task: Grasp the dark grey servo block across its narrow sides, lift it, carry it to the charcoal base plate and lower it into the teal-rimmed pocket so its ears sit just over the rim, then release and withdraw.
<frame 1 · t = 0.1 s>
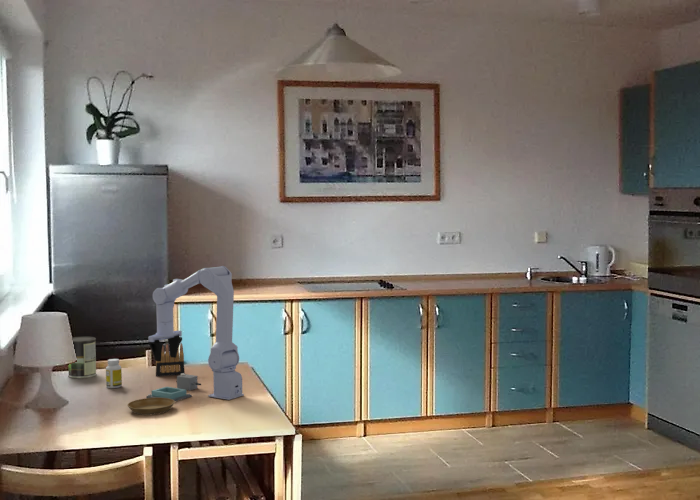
hand: (165, 359, 305), 10 cm above the table, fingers open, 7 cm apart
plant saucer: (151, 411, 273), on the table
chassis: (169, 397, 290), on the table
servo: (187, 388, 303), on the table
coffee can: (82, 376, 325), on the table
supplement bottle: (114, 387, 306), on the table
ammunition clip: (170, 375, 325), on the table
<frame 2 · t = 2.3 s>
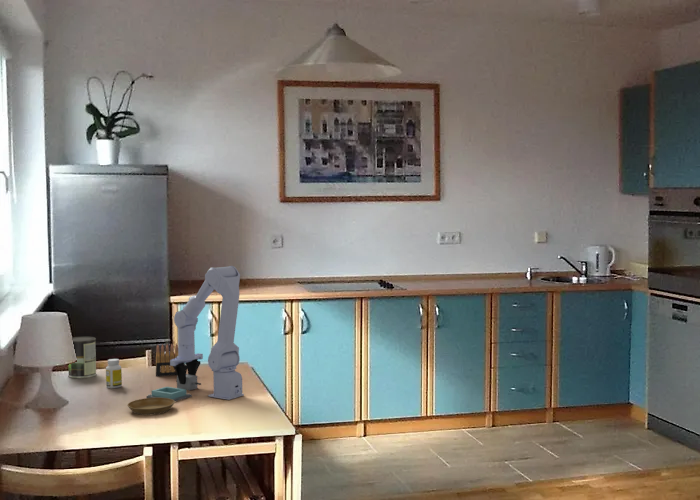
hand: (187, 382, 303), 2 cm above the table, fingers closed on servo, 4 cm apart
servo: (187, 388, 303), on the table, touching gripper
everything else where it was.
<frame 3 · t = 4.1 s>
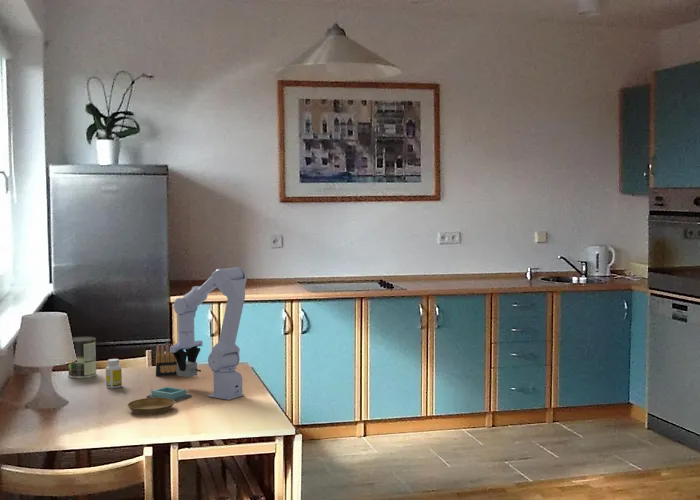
hand: (186, 369, 302), 7 cm above the table, fingers closed on servo, 4 cm apart
servo: (187, 375, 302), point 5 cm above the table, touching gripper
everything else where it was.
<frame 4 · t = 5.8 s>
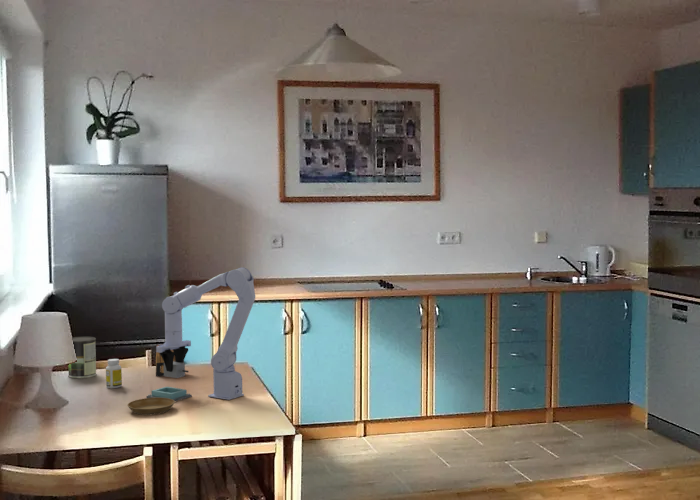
hand: (174, 370, 293), 8 cm above the table, fingers closed on servo, 4 cm apart
servo: (174, 376, 293), point 6 cm above the table, touching gripper
everything else where it was.
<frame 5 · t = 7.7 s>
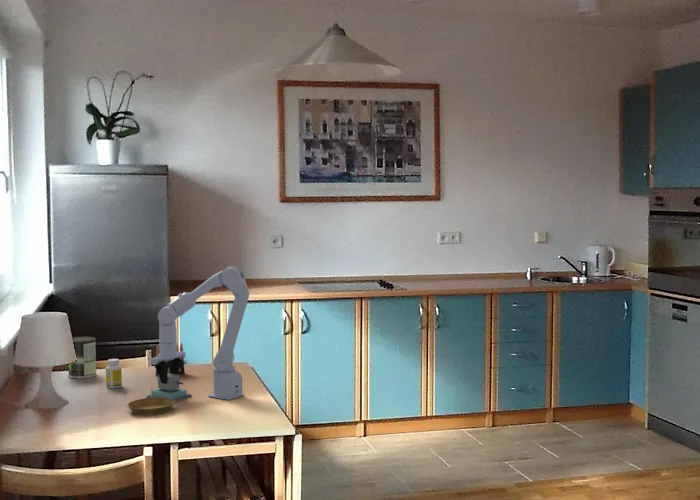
hand: (168, 382, 289), 5 cm above the table, fingers closed on servo, 4 cm apart
servo: (168, 387, 289), point 3 cm above the table, touching gripper
everything else where it was.
when the fingers open (3 cm above the table, at t = 9.5 s): servo stays where it is, resting on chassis.
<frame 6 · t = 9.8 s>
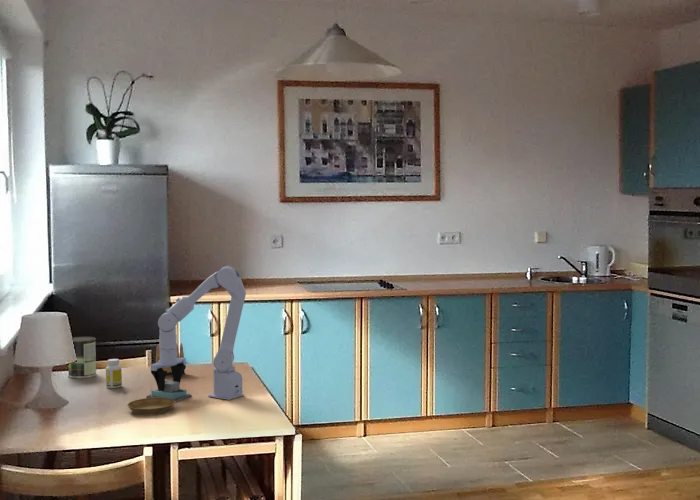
hand: (169, 388, 289), 3 cm above the table, fingers open, 7 cm apart
servo: (169, 395, 290), point 1 cm above the table, touching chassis
everything else where it was.
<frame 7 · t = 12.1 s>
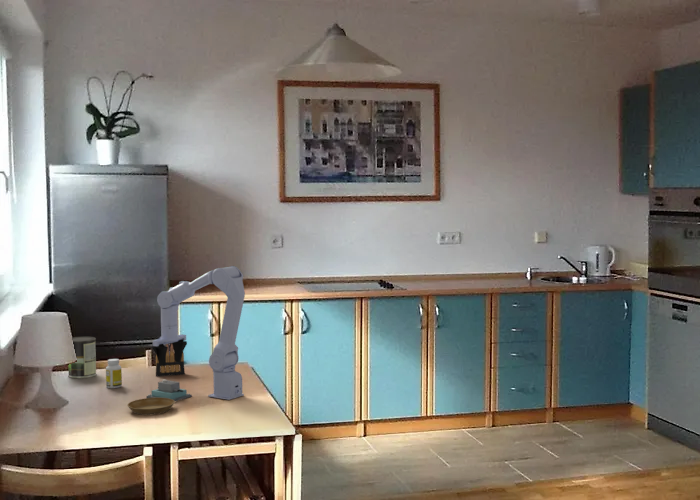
hand: (170, 363, 299), 9 cm above the table, fingers open, 7 cm apart
nothing on the table moved.
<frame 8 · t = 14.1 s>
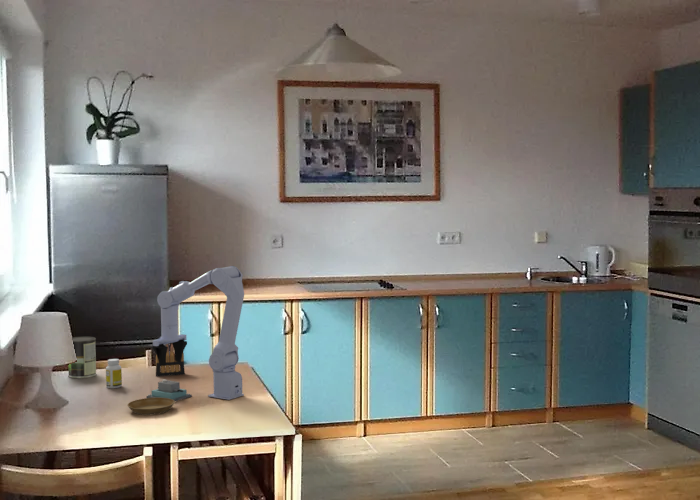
hand: (170, 363, 300), 9 cm above the table, fingers open, 7 cm apart
nothing on the table moved.
at the end: servo 0.0 cm off-centre on the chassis, point 0.6 cm above the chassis's base; servo tilted 0°; the gripper is holding nothing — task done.
